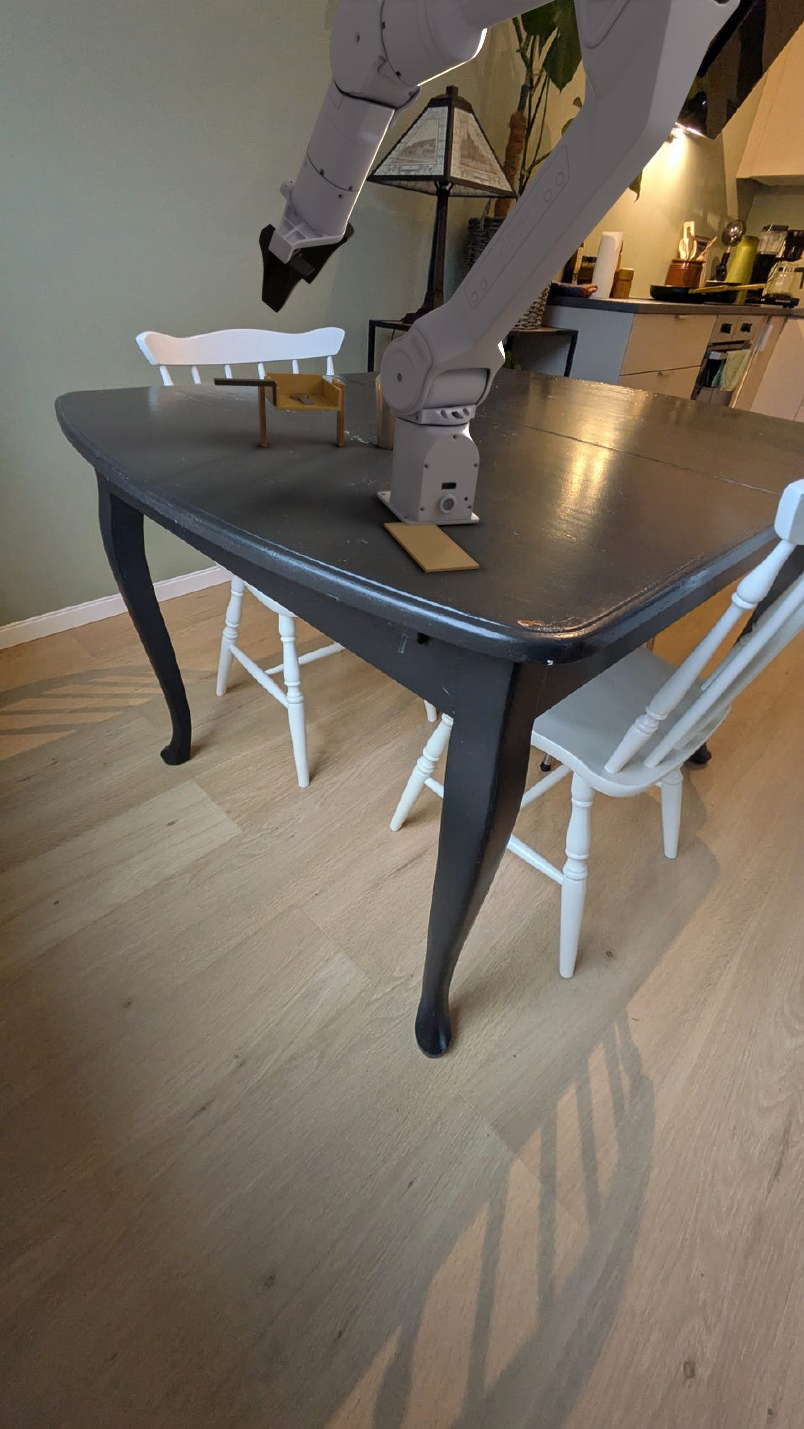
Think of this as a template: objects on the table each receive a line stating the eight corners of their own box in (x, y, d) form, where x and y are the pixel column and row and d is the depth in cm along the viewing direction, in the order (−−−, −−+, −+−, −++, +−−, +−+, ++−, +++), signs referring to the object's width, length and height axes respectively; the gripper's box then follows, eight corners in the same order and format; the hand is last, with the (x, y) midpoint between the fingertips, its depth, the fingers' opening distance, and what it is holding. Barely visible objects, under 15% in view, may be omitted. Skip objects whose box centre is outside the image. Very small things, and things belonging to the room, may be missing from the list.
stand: (343, 446, 84) (345, 384, 80) (262, 447, 81) (259, 382, 76) (340, 443, 85) (341, 381, 81) (260, 443, 82) (257, 379, 78)
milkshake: (407, 442, 89) (414, 362, 83) (403, 452, 84) (410, 368, 78) (375, 439, 89) (379, 358, 83) (370, 448, 85) (374, 364, 79)
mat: (478, 568, 55) (479, 565, 55) (426, 572, 53) (426, 569, 53) (430, 523, 63) (431, 520, 63) (383, 526, 61) (383, 523, 61)
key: (316, 405, 78) (316, 401, 78) (297, 404, 78) (297, 401, 77) (306, 396, 82) (306, 393, 82) (288, 396, 81) (288, 392, 81)
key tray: (345, 411, 79) (346, 383, 77) (217, 409, 74) (214, 380, 72) (327, 396, 85) (327, 371, 83) (208, 394, 80) (205, 367, 78)
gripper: (335, 112, 62) (289, 240, 73) (261, 156, 55) (222, 291, 66) (391, 168, 64) (337, 284, 75) (327, 218, 57) (278, 339, 68)
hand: (287, 291), depth 71 cm, fingers open, 7 cm apart
